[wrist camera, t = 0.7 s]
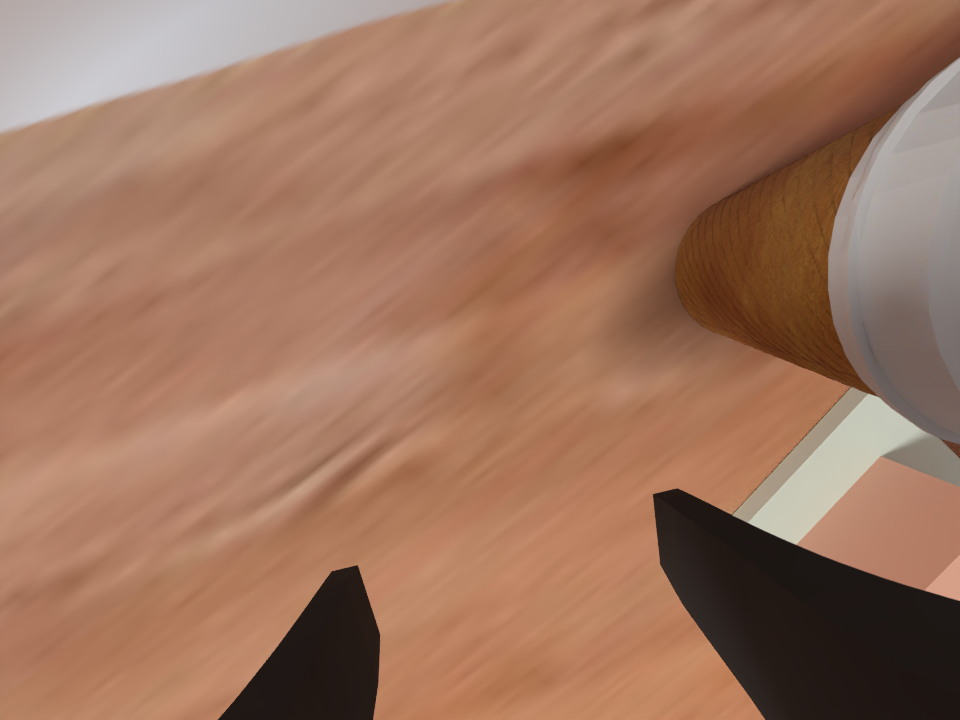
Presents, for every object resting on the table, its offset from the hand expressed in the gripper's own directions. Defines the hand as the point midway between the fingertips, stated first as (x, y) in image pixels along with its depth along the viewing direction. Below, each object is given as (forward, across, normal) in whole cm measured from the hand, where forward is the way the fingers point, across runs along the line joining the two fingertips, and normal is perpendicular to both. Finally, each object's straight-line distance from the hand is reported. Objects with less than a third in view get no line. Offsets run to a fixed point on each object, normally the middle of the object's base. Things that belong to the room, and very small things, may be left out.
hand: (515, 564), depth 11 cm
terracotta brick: (+8, -17, +10) cm, 22 cm away
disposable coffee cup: (+11, -13, -4) cm, 18 cm away
